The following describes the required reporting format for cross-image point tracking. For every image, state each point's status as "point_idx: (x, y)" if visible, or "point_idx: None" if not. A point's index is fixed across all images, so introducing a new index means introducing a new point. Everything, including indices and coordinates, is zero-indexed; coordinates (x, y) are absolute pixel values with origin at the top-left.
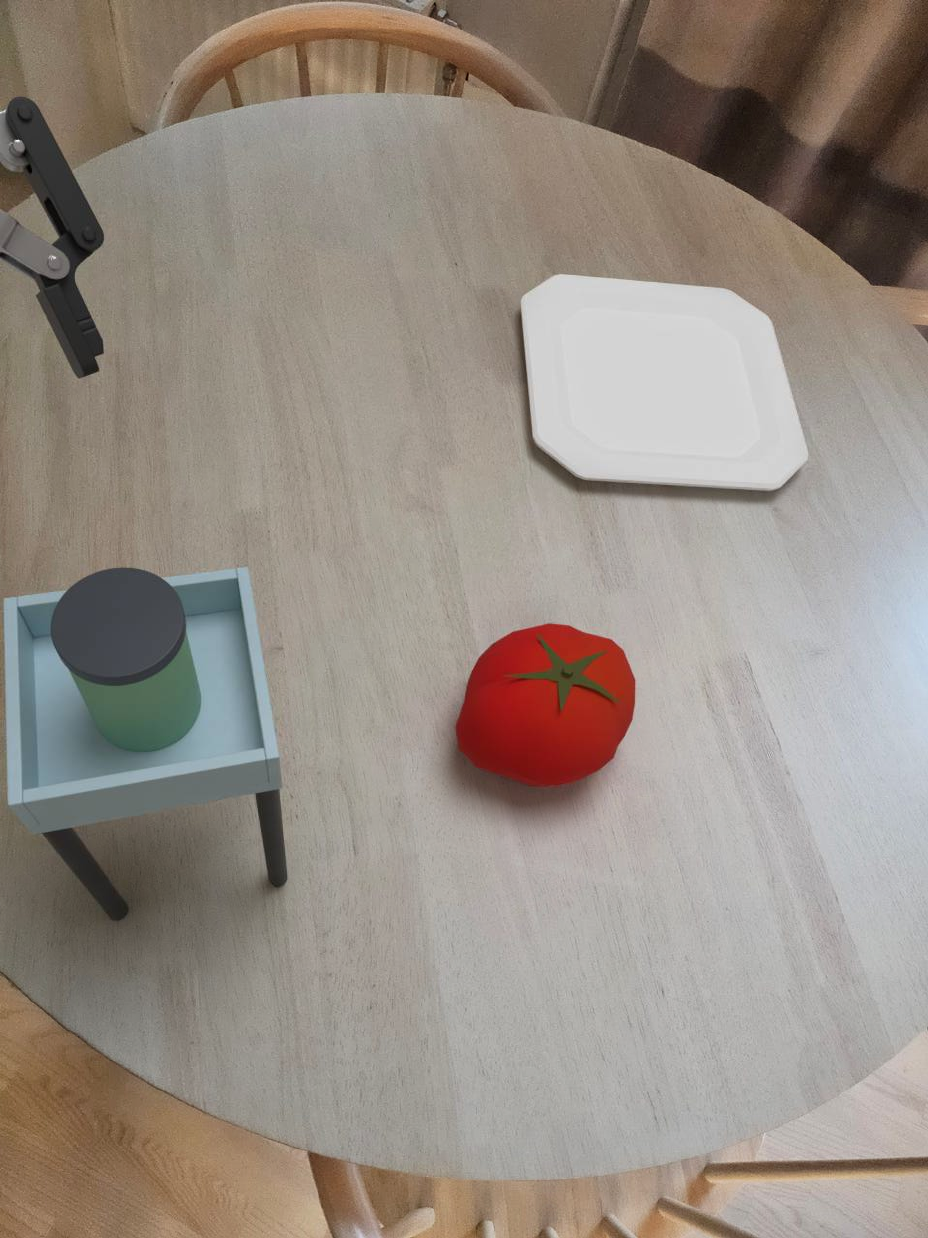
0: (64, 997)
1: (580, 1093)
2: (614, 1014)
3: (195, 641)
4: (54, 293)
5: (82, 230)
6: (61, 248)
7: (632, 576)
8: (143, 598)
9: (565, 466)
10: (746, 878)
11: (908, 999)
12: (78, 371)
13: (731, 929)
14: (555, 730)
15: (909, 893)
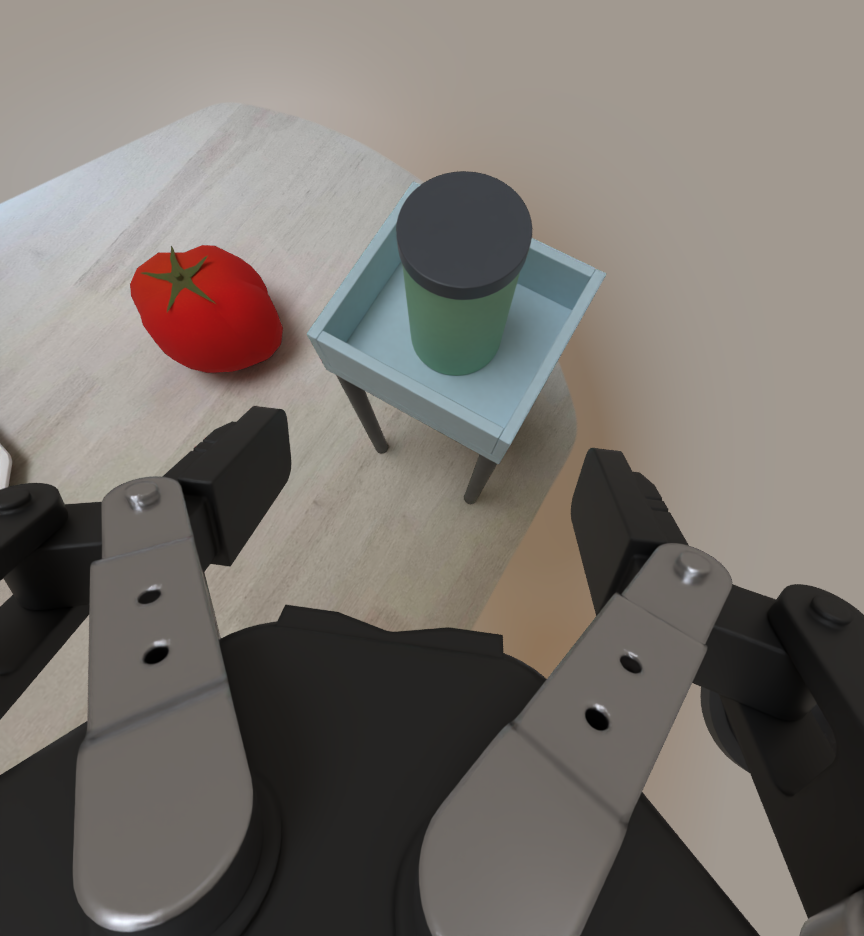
0: (564, 400)
1: (381, 189)
2: (337, 201)
3: (388, 357)
4: (203, 470)
5: (11, 513)
6: (96, 528)
7: (71, 376)
8: (428, 233)
9: (8, 473)
10: (217, 197)
11: (213, 108)
12: (285, 442)
13: (250, 187)
14: (223, 260)
15: (156, 135)
